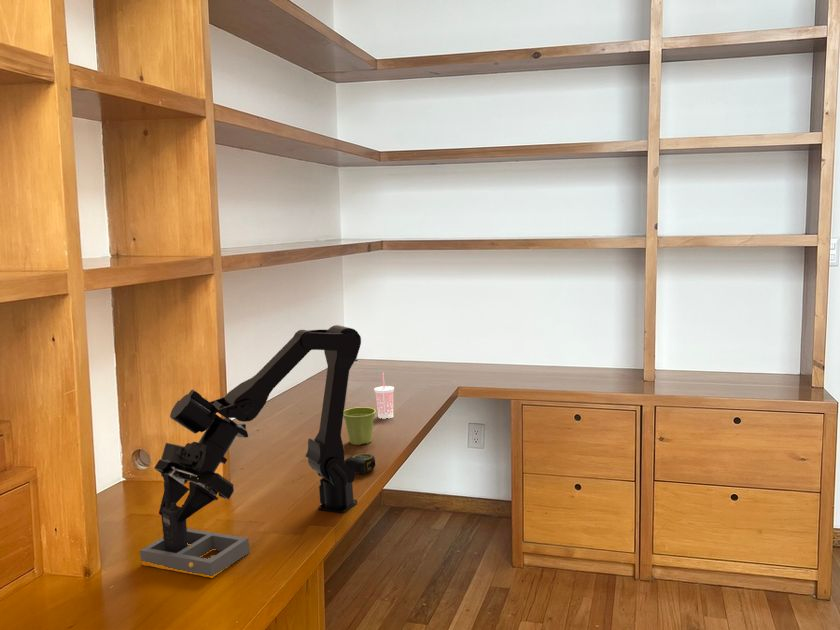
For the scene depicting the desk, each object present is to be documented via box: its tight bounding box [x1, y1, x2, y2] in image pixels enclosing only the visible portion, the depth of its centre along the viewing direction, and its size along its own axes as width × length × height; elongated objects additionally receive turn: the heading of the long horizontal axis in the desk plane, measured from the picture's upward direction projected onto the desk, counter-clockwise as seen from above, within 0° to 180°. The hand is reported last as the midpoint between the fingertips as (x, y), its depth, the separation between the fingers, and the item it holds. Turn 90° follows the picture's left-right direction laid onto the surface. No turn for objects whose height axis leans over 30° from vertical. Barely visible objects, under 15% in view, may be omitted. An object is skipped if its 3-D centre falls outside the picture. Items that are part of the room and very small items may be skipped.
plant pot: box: [343, 406, 377, 446], centre depth 216 cm, size 9×9×9 cm
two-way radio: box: [160, 481, 188, 553], centre depth 148 cm, size 6×4×15 cm
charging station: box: [139, 528, 250, 576], centre depth 147 cm, size 17×11×3 cm
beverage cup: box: [373, 371, 395, 420], centre depth 240 cm, size 6×6×14 cm
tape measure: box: [345, 452, 376, 475], centre depth 192 cm, size 7×7×4 cm
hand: (169, 518), depth 147 cm, fingers closed on two-way radio, 5 cm apart
